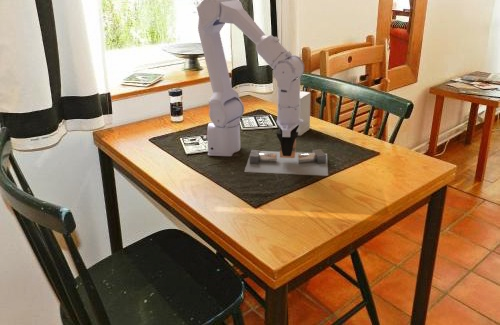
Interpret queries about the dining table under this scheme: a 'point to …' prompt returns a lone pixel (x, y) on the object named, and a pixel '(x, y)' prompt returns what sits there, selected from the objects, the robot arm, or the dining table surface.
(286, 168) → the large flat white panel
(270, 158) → the input shaft
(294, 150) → the taped shipping carton
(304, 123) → the supplement box
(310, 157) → the output shaft
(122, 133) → the dining table surface
